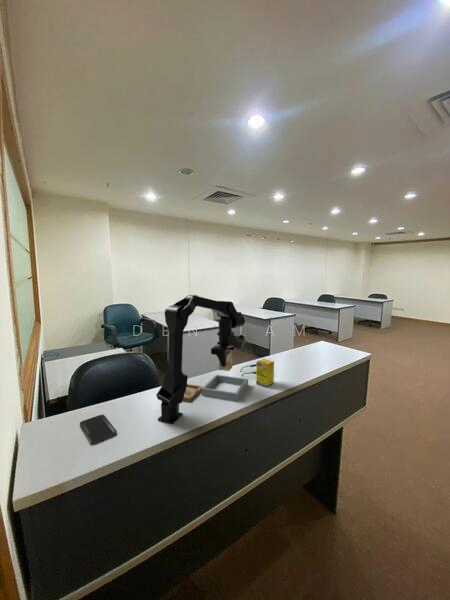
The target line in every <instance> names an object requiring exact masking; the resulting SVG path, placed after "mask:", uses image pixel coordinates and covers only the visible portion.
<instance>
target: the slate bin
mask: <svg viewBox="0 0 450 600" xmlns="http://www.w3.org/2000/svg"><path fill="white" fill-rule="evenodd" d="M217 383H223V384H231V385H237V386H239V388H238V389H237V391H236V392H232V391H227V390H220V389H215V388H213V387H214V386H215V385H216V384H217ZM248 386H249V378H243V377H236V376H229V375H223V374H222V375H221V374H215V375H214V376H213V377H212V378H211V379H210V380H208V382H207V383H205V385H203V386H202V391H201V396H203V397H209V398H214V399H221V400H227V401H231V402H232V401H233V402H239V400H240V398H241V397H242V396H243V394H244V393H245V391H246V390H247V388H248Z"/></svg>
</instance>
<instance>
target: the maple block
mask: <svg viewBox="0 0 450 600" xmlns="http://www.w3.org/2000/svg"><path fill="white" fill-rule="evenodd" d="M228 352H230V353H229V354H228V355H227V356H226V364H225V367H222V365H221V363H220V361H219V360H218V370H219V371H224V372H230V371H231V369H233V350H228Z"/></svg>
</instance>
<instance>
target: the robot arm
mask: <svg viewBox="0 0 450 600" xmlns="http://www.w3.org/2000/svg"><path fill="white" fill-rule="evenodd" d="M196 307H199V308H203V309H208V310H212V311H213V312H214V313H216V314H218V315H216V317H215V318H214V321H218V331H217V332H216V335H217V336H218V341H217V343H216V345H214V346H213V347H212V348H210V354H211V355H215V356H216V357H217V360H218V362H219V361H220V363H221V365H222V367H225V364H226V356H227V355H228V354H229V353H230V352H228V350H232V351H234V350H235V349H238V350H242V349H243V348H244V345H245V343H246V339H245V335H244V334H240V335H239V336H238V335H235V332H234V331H233V329H236V328H240V327H243V326H244V325H245V323H246V320H245V318H244V315H243V314H242V312H241V311H238V310H237V309H236V307H235V305H234V302H232V301H228V300H227V301H226V300H215V299H210V298H206V297H202V296H199V295H197V294H188V295H185V297H184V298H182V299H179V300H177V301H176V302H174V303H173V304H172V305H169V306H167V307H166V308H165V310H164V319H165V324H166V327H167V329H168V356H167V357H168V359H167V371H166V373H165V375H164V377H163V381H162V384H161V387H160V388H159V390H158V392H156V394H155V395H156V398H157V400H159V401H160V402H161V403H160V410H161V413H160V414H161V415H160V417H158V418H157V421H158V422H164V423H168V424H171V425H172V424H173V425H174V424H175V423H176V422H177V421H178V420H179V419H180V418H181V417H182V416H183V414H184V413H183V412H180V404H182V403H183V402H184V401H183V398H184V394H185V391H186V387H188V385H187V384H188V380H189V379H188V377H189V376H188V375H187V374H185V373H184V372H183V345H184V343H183V342H184V330H185V328H186V327H187V325H188V322H189V317H190V316H191V315H192V314H194V312H195V310H196Z"/></svg>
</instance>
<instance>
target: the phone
mask: <svg viewBox="0 0 450 600" xmlns="http://www.w3.org/2000/svg"><path fill="white" fill-rule="evenodd" d="M79 427H80V429H81V431H82V432H83V434H84V436H85V438H86V439H87V441H88V443H89V444H90V445H91V444H92V446H93V444H94V445H97V444H99V443H101V442H103V441H102V440H105V439H106V440H109V439H111V438H113V437H116V436H117V429H116V428H115V427H114V425H113V424H112V423H111V422H110V420H109V419H108V418H107V417H106V416H105V414H98V415H96V416H93V417H90V418H88V419H84V420H82V421H80V422H79ZM108 438H109V439H108ZM100 441H101V442H100ZM98 442H99V443H98ZM96 443H97V444H96Z"/></svg>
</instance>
